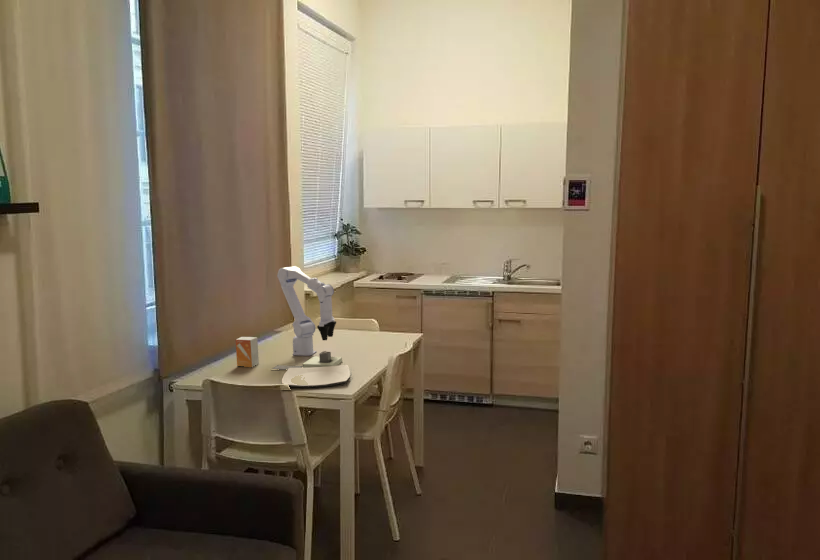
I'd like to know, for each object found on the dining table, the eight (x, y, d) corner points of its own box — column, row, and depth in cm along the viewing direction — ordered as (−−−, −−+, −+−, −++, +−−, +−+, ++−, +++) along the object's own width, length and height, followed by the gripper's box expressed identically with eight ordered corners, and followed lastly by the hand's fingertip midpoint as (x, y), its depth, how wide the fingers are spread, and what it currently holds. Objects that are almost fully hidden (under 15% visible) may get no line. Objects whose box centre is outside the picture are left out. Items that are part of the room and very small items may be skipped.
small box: (236, 366, 315) (234, 339, 313) (244, 363, 321) (242, 336, 319) (252, 367, 312) (250, 339, 310) (259, 364, 318) (257, 336, 316)
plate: (286, 373, 303) (286, 367, 302) (350, 369, 304) (350, 363, 304) (278, 391, 274) (278, 385, 274) (349, 387, 276) (349, 381, 276)
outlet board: (302, 368, 308) (302, 364, 308) (314, 360, 321) (313, 356, 321) (331, 369, 304) (331, 364, 304) (342, 361, 318) (342, 357, 318)
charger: (320, 366, 310) (319, 352, 309) (323, 364, 314) (322, 349, 313) (328, 366, 309) (327, 352, 308) (331, 364, 313) (330, 350, 312)
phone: (270, 371, 307) (270, 368, 307) (277, 367, 314) (277, 364, 313) (297, 372, 304) (297, 370, 303) (303, 368, 310) (303, 365, 310)
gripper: (328, 313, 315) (330, 342, 317) (339, 307, 329) (340, 335, 331) (314, 313, 317) (316, 341, 318) (325, 307, 330) (326, 334, 332)
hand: (327, 338), depth 325 cm, fingers open, 7 cm apart
